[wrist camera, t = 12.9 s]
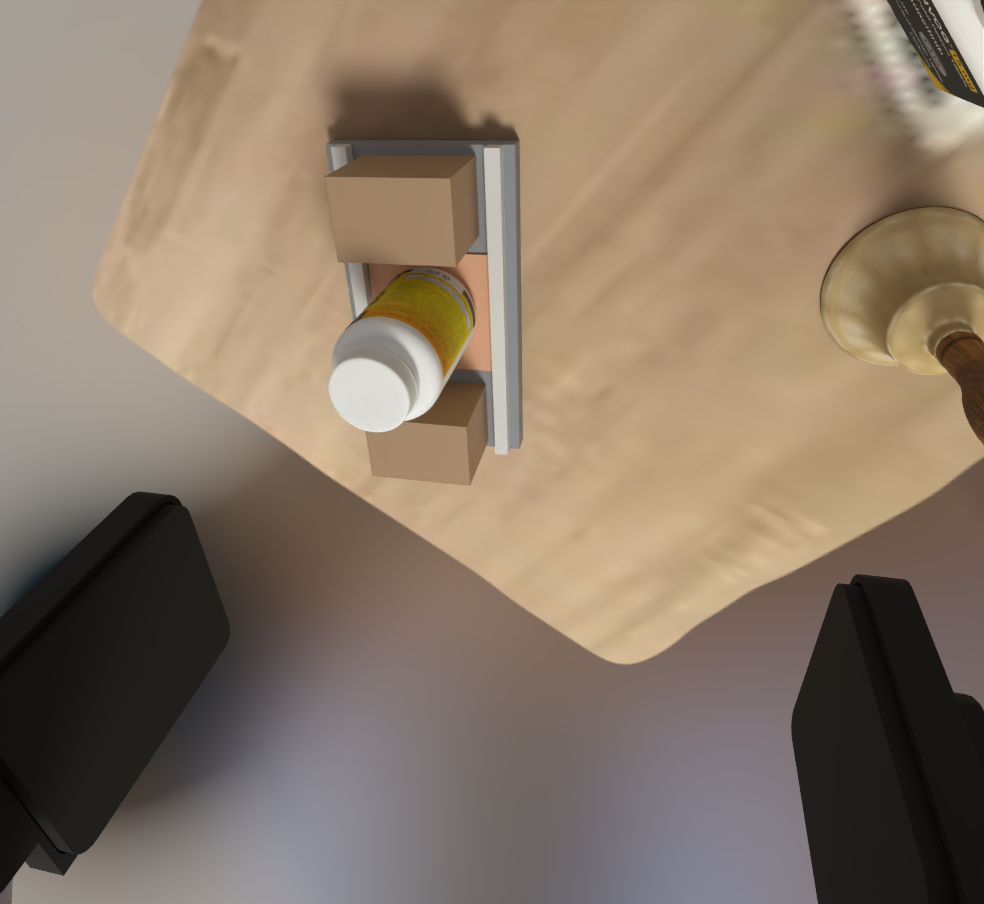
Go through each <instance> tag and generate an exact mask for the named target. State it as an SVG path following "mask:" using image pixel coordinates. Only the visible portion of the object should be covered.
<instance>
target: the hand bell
mask: <svg viewBox="0 0 984 904" xmlns="http://www.w3.org/2000/svg"><path fill="white" fill-rule="evenodd" d="M821 316H822V319H823V323H824V326H825V328H826V330H827V332H828V334H829V336H830V337H831V338H832V340H833V341H834V342H835V343H836V344H837V345H838V346H839V347H840V348H841V349H842V350H843V351H845V352H846V353H848V354H849V355H851V356H853V357H855V358H856V359H859V360H862V361H865V362H867V363H871V364H877V365H884V366H901V367H903V368H904V369H906V370H908V371H911V372H914V373H918V374H924V375H938V374H945V373H949V374H950V375H951V376H952V377H953V378H954V379H955V380H956V381H957V383H958V384H959V385H960V387H961V391H962V404H963V408H964V412H965V415H966V417H967V419H968V422H969V424H970V426H971V428H972V429H973V431H974V433H975V434H976V436H977V437H978V438H979V440H980V441H981V442H982V443H983V445H984V222H983V221H981V220H980V219H978V218H977V217H975V216H973V215H971V214H969V213H966V212H964V211H960V210H956V209H952V208H944V207H924V208H917V209H911V210H907V211H903V212H900V213H896V214H894V215H891V216H888V217H886V218H884V219H882V220H880V221H878V222H876V223H875V224H873V225H871V226H869V227H868V228H866V229H865V230H863V231H862V232H861V233H859V234H858V235H857V236H856V237H855V238H854V239H852V240H851V241H850V242H849V243H848V244H847V246H846V247H845V248H844V249H843V250H842V251H841V252H840V253H839V255H838V256H837V257H836V259H835V260H834V262H833V263H832V265H831V267H830V269H829V271H828V273H827V275H826V277H825V280H824V283H823V287H822V292H821Z"/></svg>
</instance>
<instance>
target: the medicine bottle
mask: <svg viewBox="0 0 984 904" xmlns="http://www.w3.org/2000/svg"><path fill="white" fill-rule="evenodd" d="M887 2H888V3H889V5H890V7H891V9H892V10H893V12H894V14H895V16H896V17H897V19H898V21H899V23H900V24H901V26H902V28H903V30H904V31H905V33H906V35H907V37H908V38H909V40H910V42H911V44H912V45H913V47H914V49H915V51H916V52H917V54H918V56H919V58H920V59H921V61H922V63H923V65H924V66H925V68H926V70H927V72H928V73H929V75H930V77H931V79H932V80H933V82H934V84H935V86H936V87H937V88H938V89H939V90H942V91H944V92H947V93H949V94H952V95H954V96H956V97H959V98H961V99H964V100H966V101H969V102H971V103H974V104H976V105H978V106H981V107H983V108H984V0H887Z"/></svg>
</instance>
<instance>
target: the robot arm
mask: <svg viewBox="0 0 984 904" xmlns="http://www.w3.org/2000/svg"><path fill="white" fill-rule="evenodd" d="M229 635H230V625H229V621H228V619H227V616H226V613H225V610H224V607H223V605H222V602H221V599H220V596H219V593H218V591H217V588H216V585H215V582H214V579H213V577H212V574H211V571H210V569H209V565H208V563H207V560H206V557H205V554H204V551H203V549H202V546H201V543H200V540H199V537H198V535H197V532H196V529H195V526H194V523H193V521H192V518H191V515H190V513H189V511H188V509H187V508H186V507H184V506H182V504H181V502H180V501H179V499H177V498H176V497H175V496H171V495H165V494H156V493H147V492H135V493H133V494H131V495H130V496H128V497H127V498H126V499H125V500H124V501H123V502H122V503H121V504H120V505H119V506H117V507H116V509H114V510H113V511H112V512H111V513H110V514H109V515H108V516H107V517H106V518H105V519H104V520H103V521H102V522H101V523H100V524H99V525H98V526H96V527H95V528H94V529H93V530H92V531H91V532H90V533H89V534H88V535H87V536H86V537H85V538H84V539H83V540H82V541H81V542H80V543H79V544H78V545H76V546H75V547H74V548H73V549H72V550H71V551H70V552H69V553H68V554H67V555H66V556H65V557H64V558H63V559H62V560H61V561H60V562H59V563H58V564H56V566H54V567H53V568H52V569H51V570H50V571H49V572H48V573H47V574H46V575H45V576H44V577H43V578H42V579H41V580H40V581H39V582H38V583H37V584H36V585H34V586H33V587H32V588H31V589H30V590H29V591H28V592H27V593H26V594H25V595H24V596H23V597H22V598H21V599H20V600H19V601H18V602H17V603H15V604H14V605H13V606H12V607H11V608H10V609H9V610H8V611H7V612H6V613H5V614H4V615H3V616H2V617H1V618H0V904H11V902H12V880H13V877H14V875H15V874H16V872H17V871H18V870H19V868H20V867H21V866H22V865H23V863H24V862H26V863H27V864H28V865H29V867H30V868H34V869H38V870H43V871H47V872H51V873H55V874H59V875H63V876H64V875H65V873H66V872H67V870H68V868H69V867H70V866H71V864H72V863H73V861H74V860H75V858H76V857H77V855H78V854H81V853H84V852H85V851H87V850H88V849H89V848H90V847H91V846H92V845H93V844H94V842H95V841H96V840H97V838H98V837H99V836H100V834H101V833H102V831H103V830H104V828H105V827H106V825H107V824H108V822H109V821H110V819H111V818H112V816H113V815H114V813H115V812H116V810H117V809H118V807H119V806H120V804H121V803H122V801H123V800H124V798H125V797H126V795H127V794H128V792H129V791H130V789H131V788H132V786H133V785H134V783H135V782H136V780H137V779H138V777H139V776H140V774H141V773H142V771H143V769H144V768H145V767H146V765H147V764H148V762H149V761H150V759H151V758H152V756H153V755H154V753H155V752H156V750H157V749H158V747H159V746H160V744H161V743H162V741H163V740H164V738H165V737H166V735H167V734H168V732H169V731H170V729H171V728H172V726H173V725H174V723H175V722H176V720H177V719H178V717H179V716H180V714H181V713H182V711H183V710H184V708H185V707H186V705H187V704H188V702H189V701H190V699H191V698H192V696H193V695H194V693H195V692H196V690H197V689H198V687H199V686H200V684H201V683H202V681H203V680H204V679H205V677H206V675H207V674H208V672H209V671H210V670H211V668H212V666H213V665H214V664H215V662H216V661H217V659H218V657H219V656H220V654H221V653H222V652H223V650H224V648H225V647H226V645H227V642H228V639H229ZM791 729H792V741H793V748H794V754H795V761H796V767H797V773H798V779H799V786H800V792H801V798H802V805H803V811H804V817H805V824H806V830H807V836H808V843H809V849H810V855H811V862H812V868H813V874H814V880H815V887H816V893H817V899H818V904H984V711H983V709H982V707H981V705H980V704H979V703H978V702H977V701H976V700H975V699H974V698H973V697H972V696H969V695H966V694H960V693H954V692H953V690H952V687H951V685H950V682H949V680H948V678H947V675H946V672H945V670H944V667H943V664H942V662H941V660H940V657H939V655H938V652H937V649H936V647H935V644H934V642H933V639H932V637H931V634H930V632H929V629H928V626H927V624H926V621H925V619H924V616H923V614H922V611H921V609H920V606H919V604H918V601H917V599H916V596H915V594H914V591H913V589H912V587H911V585H910V583H909V582H908V581H906V580H904V579H895V578H887V577H878V576H870V575H861V574H860V575H859V574H857V575H855V576H854V577H853V578H852V580H851V582H850V585H849V584H837V586H836V587H835V589H834V591H833V595H832V598H831V600H830V603H829V606H828V609H827V612H826V615H825V618H824V621H823V624H822V627H821V630H820V633H819V636H818V639H817V642H816V645H815V648H814V651H813V654H812V657H811V660H810V662H809V666H808V668H807V672H806V674H805V677H804V680H803V683H802V686H801V689H800V692H799V695H798V698H797V701H796V704H795V707H794V710H793V715H792V725H791Z"/></svg>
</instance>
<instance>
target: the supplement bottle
mask: <svg viewBox="0 0 984 904" xmlns="http://www.w3.org/2000/svg"><path fill="white" fill-rule="evenodd" d="M475 324H476V312H475V307H474V304H473V301H472V298H471V296H470V294H469V293H468V291H467V289H466V288H465V287H464V286H463V284H462V283H461V282H460V281H459V280H457V279H456V278H455V277H454V276H452V275H451V274H449V273H447V272H445V271H443V270H440V269H437V268H433V267H415V268H411V269H408V270H405V271H403V272H401V273H400V274H398V275H397V276H396V277H395V278H394V279H393V280H392V281H390V283H389V284H388V285H387V286H386V287H385V288H384V289H383V290H382V291H381V292H380V293H379V294H378V295H377V296H376V297H375V298H374V299H373V301H372V302H371V303H370V304H369V305H368V306H367V307H366V308H365V309H364V310H363V311H362V313H361V314H360V315H359V316H358V317H357V318H356V319H355V320H354V321H353V322H352V323H351V324H350V325H349V326H348V327H347V328H346V329H345V331H344V332H343V333H342V334H341V336H340V337H339V339H338V340H337V343H336V345H335V348H334V351H333V358H332V364H333V371H332V373H331V375H330V378H329V383H328V390H329V396H330V399H331V401H332V404H333V406H334V407H335V409H336V410H337V412H338V413H339V414H340V415H341V416H342V417H343V418H344V419H345V420H346V421H347V422H349V423H350V424H352V425H353V426H355V427H357V428H359V429H362V430H365V431H369V432H386V431H390V430H392V429H394V428H396V427H398V426H399V425H400V424H401V423H402V422H403V421H408V420H411V419H414V418H417V417H419V416H420V415H422V414H424V413H425V412H426V411H428V410H429V409H430V408H431V407H432V406H433V404H434V403H435V401H436V400H437V399H438V397H439V395H440V393H441V392H442V390H443V388H444V386H445V385H446V383H447V381H448V380H449V378H450V376H451V374H452V372H453V371H454V369H455V367H456V365H457V363H458V362H459V360H460V358H461V356H462V354H463V353H464V351H465V349H466V347H467V345H468V344H469V342H470V340H471V338H472V335H473V333H474V330H475Z"/></svg>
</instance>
